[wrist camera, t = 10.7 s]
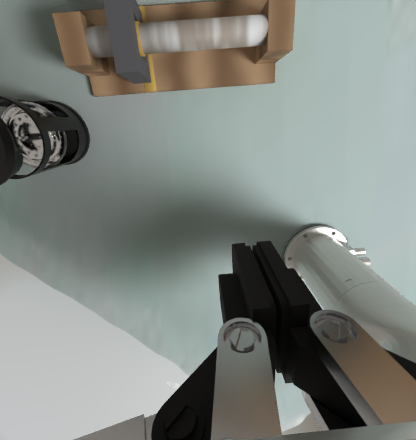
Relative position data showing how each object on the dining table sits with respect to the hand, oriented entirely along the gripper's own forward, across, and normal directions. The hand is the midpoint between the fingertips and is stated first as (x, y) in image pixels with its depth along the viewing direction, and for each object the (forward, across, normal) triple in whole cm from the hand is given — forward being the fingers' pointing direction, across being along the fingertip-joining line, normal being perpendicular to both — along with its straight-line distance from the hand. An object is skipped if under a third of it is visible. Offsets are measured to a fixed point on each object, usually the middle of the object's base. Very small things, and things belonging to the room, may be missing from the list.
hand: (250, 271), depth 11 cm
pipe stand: (+32, +3, -16) cm, 36 cm away
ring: (+30, +9, -16) cm, 35 cm away
